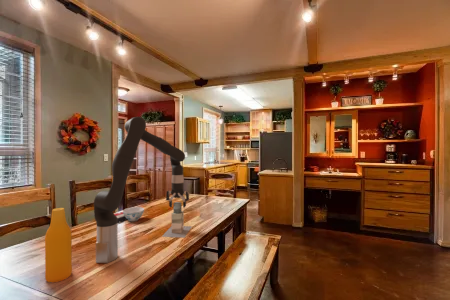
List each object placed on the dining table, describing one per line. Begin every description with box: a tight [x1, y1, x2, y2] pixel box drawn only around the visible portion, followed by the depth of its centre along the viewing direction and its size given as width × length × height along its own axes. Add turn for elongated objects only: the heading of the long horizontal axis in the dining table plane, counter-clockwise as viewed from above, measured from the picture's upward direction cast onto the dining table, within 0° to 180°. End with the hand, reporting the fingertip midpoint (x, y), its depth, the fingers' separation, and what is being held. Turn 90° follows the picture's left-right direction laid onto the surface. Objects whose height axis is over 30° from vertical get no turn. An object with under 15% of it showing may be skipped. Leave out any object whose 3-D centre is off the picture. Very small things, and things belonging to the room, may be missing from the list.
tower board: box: [161, 225, 193, 239], centre depth 146 cm, size 19×14×2 cm
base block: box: [171, 220, 185, 233], centre depth 146 cm, size 6×6×6 cm
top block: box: [171, 210, 185, 224], centre depth 146 cm, size 6×6×6 cm
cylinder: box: [173, 201, 183, 214], centre depth 146 cm, size 5×5×6 cm
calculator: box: [113, 211, 128, 224], centre depth 174 cm, size 11×4×15 cm
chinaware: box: [122, 206, 145, 222], centre depth 173 cm, size 15×15×8 cm
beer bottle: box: [44, 207, 73, 284], centre depth 97 cm, size 9×9×29 cm
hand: (177, 207), depth 146 cm, fingers open, 8 cm apart
